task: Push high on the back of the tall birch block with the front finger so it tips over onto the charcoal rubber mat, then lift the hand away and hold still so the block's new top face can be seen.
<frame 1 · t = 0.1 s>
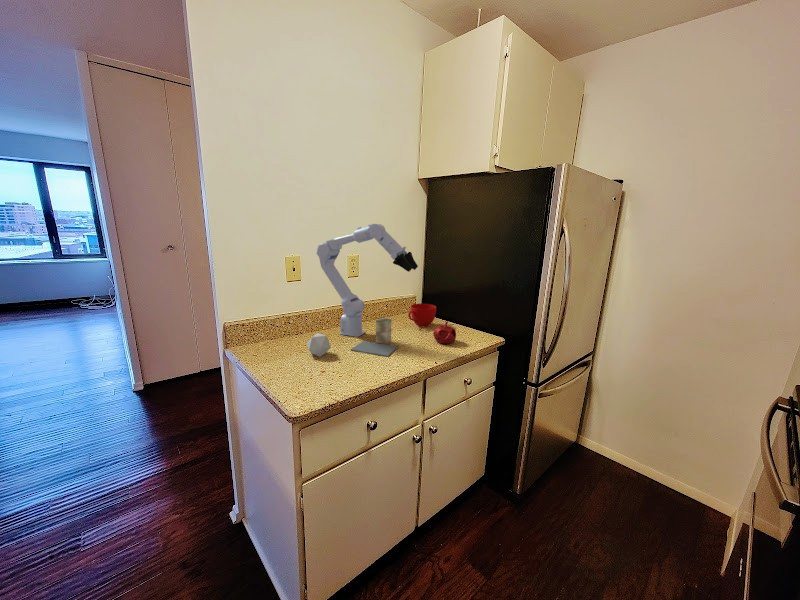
hand: (413, 269, 134), 32 cm above the counter, tool tilted 50°, fingers open, 7 cm apart
pomegranate: (444, 342, 143), on the counter
mat: (374, 349, 132), on the counter
block: (383, 342, 140), on the counter
die: (319, 354, 125), on the counter
ceramic cup: (420, 326, 166), on the counter
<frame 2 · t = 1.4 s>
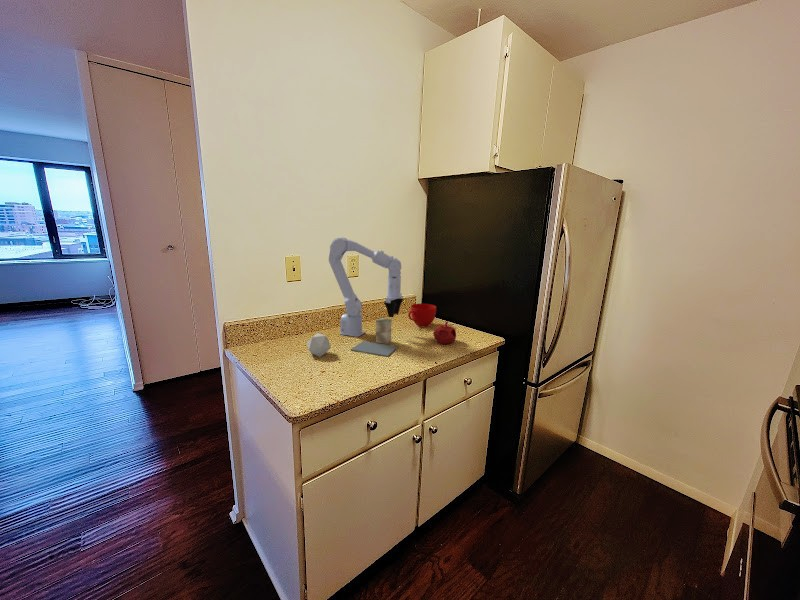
hand: (393, 315, 148), 9 cm above the counter, tool pointing down, fingers open, 5 cm apart
nothing on the counter moved.
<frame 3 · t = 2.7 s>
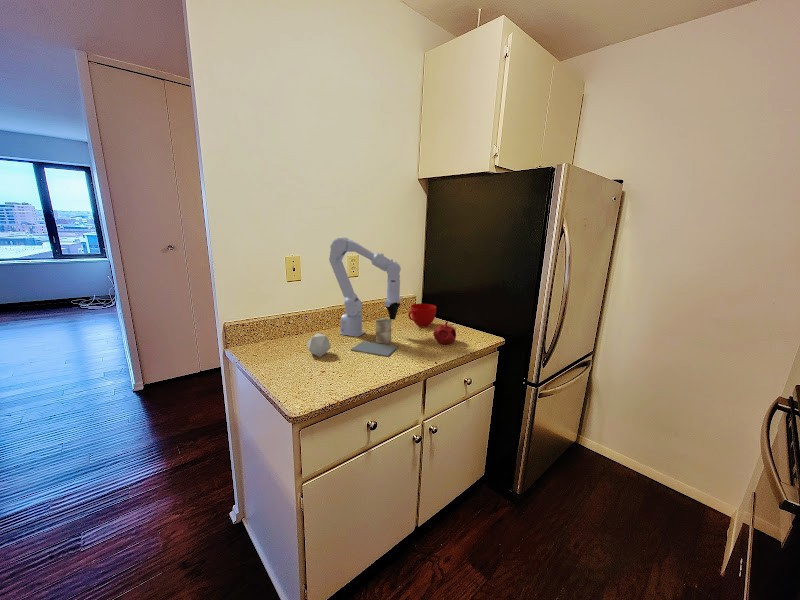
hand: (392, 319, 147), 8 cm above the counter, tool pointing down, fingers closed
nothing on the counter moved.
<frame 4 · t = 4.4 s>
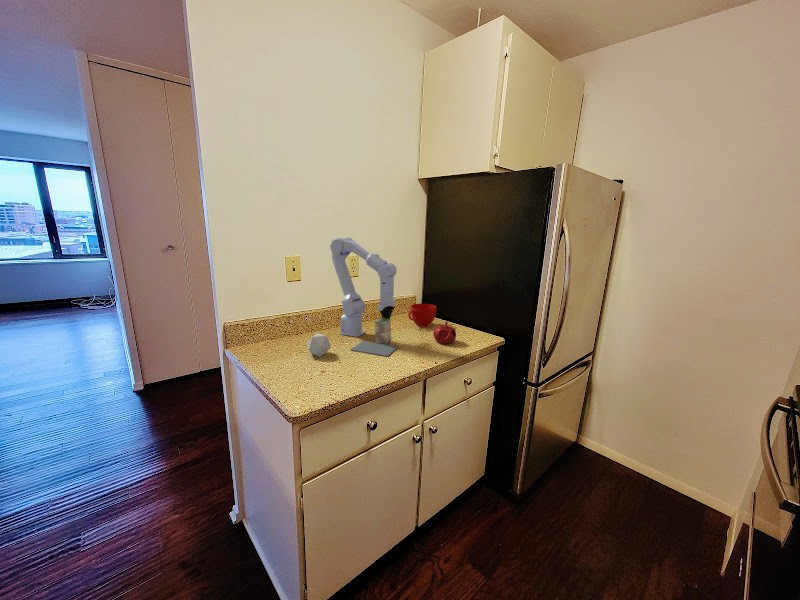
hand: (386, 323, 141), 8 cm above the counter, tool pointing down, fingers closed
block: (383, 341, 140), on the counter, tilted 8°
everything else where it was.
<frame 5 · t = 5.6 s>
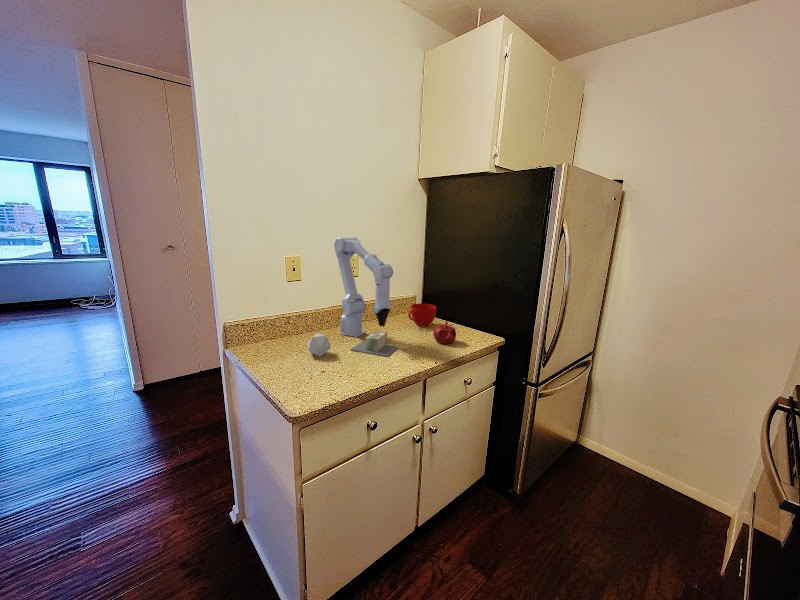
hand: (382, 325, 136), 8 cm above the counter, tool pointing down, fingers closed
block: (381, 337, 137), point 3 cm above the counter, tilted 90°, touching mat
everything else where it was.
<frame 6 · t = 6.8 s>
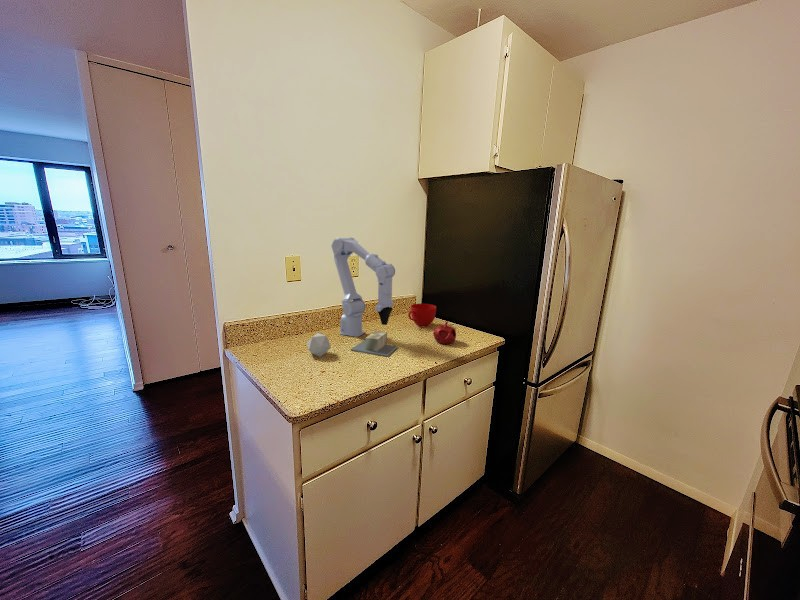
hand: (384, 324, 139), 8 cm above the counter, tool pointing down, fingers closed
nothing on the counter moved.
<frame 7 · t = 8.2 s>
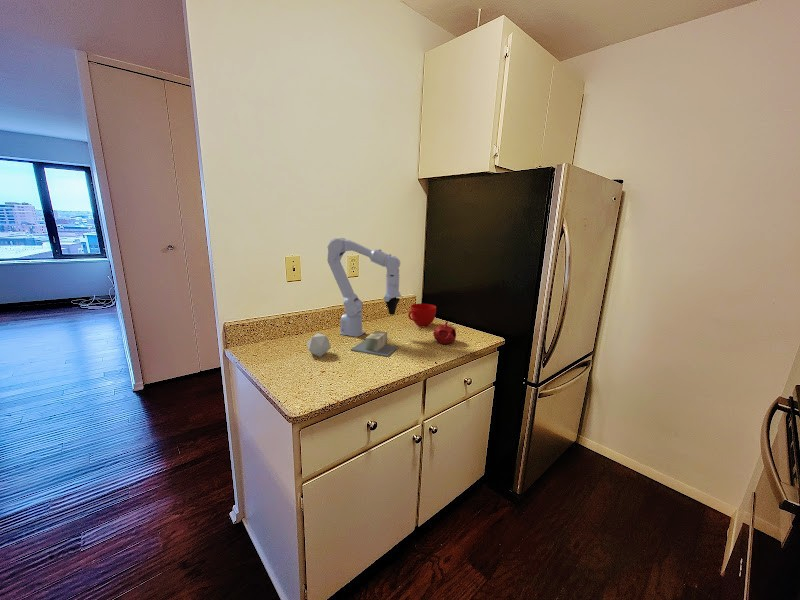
hand: (391, 314, 146), 10 cm above the counter, tool pointing down, fingers closed
nothing on the counter moved.
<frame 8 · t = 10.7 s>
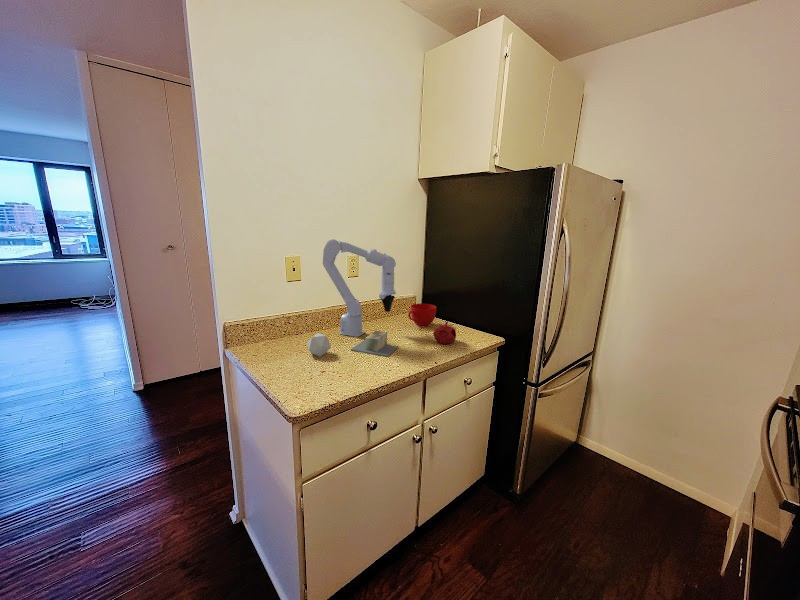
hand: (387, 311, 151), 10 cm above the counter, tool pointing down, fingers closed
nothing on the counter moved.
at the end: block tilted 90°; block touching mat; block inside the target area (1.7 cm from its centre), point 3.0 cm above the counter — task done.
